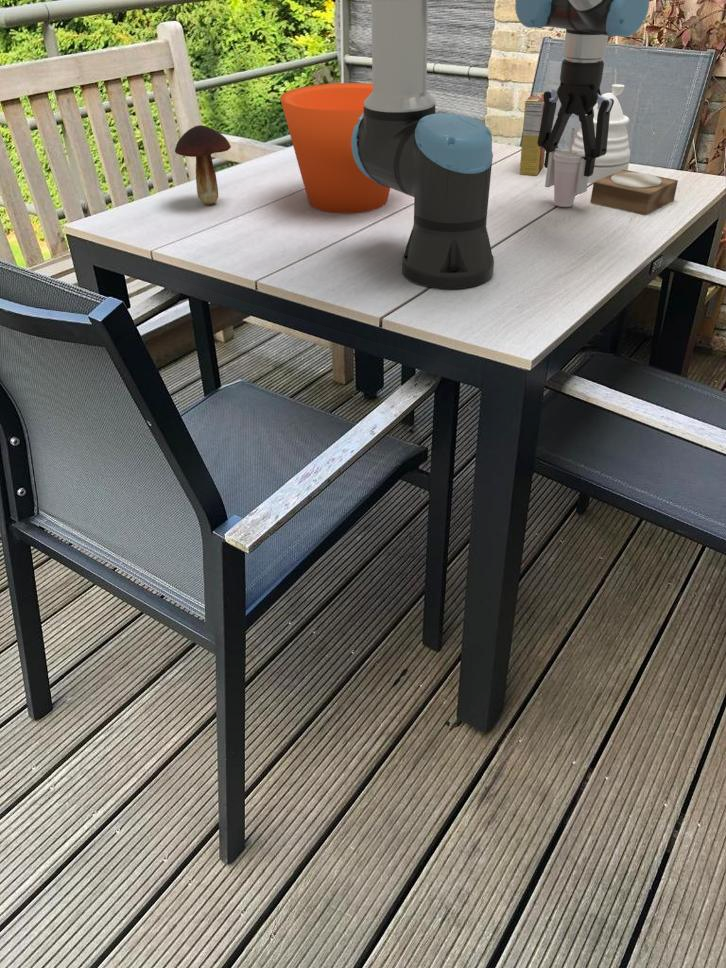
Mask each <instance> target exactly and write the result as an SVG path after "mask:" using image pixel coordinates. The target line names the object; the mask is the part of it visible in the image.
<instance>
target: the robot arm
mask: <svg viewBox="0 0 726 968" xmlns="http://www.w3.org/2000/svg"><path fill="white" fill-rule="evenodd" d="M370 5H371V7H370V9H371V13H370V14H371V15H370V16H371V62H372V63H371V67H372V68H371V69H372V70H371V74H372V84H373V90H372V93H371V94H370V95H369V96H368V97H367V98H366V100H365V101H364V113H363V114H362V115H361V116H360V118H359V119H358V121H359V122H358V124H357V125H355V126H354V129H353V133H352V140H351V146H352V153H353V157H354V160H355V162H356V164H357V166H358V168H359V169H360V171H361V172H362V173H363V174H364V175H365V176H367V177H368V178H370V179H372V180H373V181H375V182H376V183H377V184H379V185H381V186H384V187H389V188H390V189H392V190H394V191H397V192H400V193H402V194H405V195H407V196H410V197H413V198H414V199H413V200H414V201H413V203H414V204H413V225H412V229H411V232H410V233H409V234H410V235H409V238H408V240H407V243H406V246H405V249H404V252H403V255H402V259H401V260H402V261H401V272H402V275H403V276H404V277H405V278H406V279H407V280H408V281H410V282H412V283H414V284H417V285H419V286H424V287H427V288H433V289H434V288H435V289H443V290H444V289H447V290H451V289H454V290H455V289H456V290H458V289H465V288H472V287H475V286H479V285H481V284H485V283H486V282H488V281H489V280H490V279H492V277H493V275H494V268H495V267H494V265H495V258H494V255H493V253H492V246H491V242H490V238H489V233H488V228H487V217H488V210H489V209H488V208H489V207H488V206H489V199H490V198H489V196H490V187H491V176H492V166H493V165H492V164H493V157H494V154H493V135H492V132H491V130H490V128H489V127H488V125H486V124H485V123H483V122H482V121H480V120H478V119H476V118H473V117H471V116H468V115H467V116H466V115H464V114H461V115H457V114H455V113H446V112H442V113H441V112H439V113H436V104H437V103H436V102H437V101H436V99H435V98H434V97H433V96H432V94H431V93H430V92H429V91H428V89H427V84H428V83H427V80H428V79H427V78H428V75H427V74H428V72H427V71H428V30H429V29H428V26H429V25H428V21H429V19H428V18H429V0H370ZM514 6H515V9H514V10H515V13H516V17H517V19H518V21H519V22H520V23H521V25H522V26H524V27H526V28H529V29H530V28H532V29H533V28H534V29H543V28H545V27H547V28H548V27H549V28H556V29H562V30H563V29H564V30H565V36H564V42H563V51H562V56H563V57H564V58H563V61H561V66H560V74H559V75H560V76H559V81H560V83H559V86H558V87H557V90H556V89H555V90H554V89H550V90H547V91H544V92H543V93H544V110H543V116H542V121H541V126H540V132H539V137H538V146H542V147H543V148H544V149H545V159H544V166H543V167H544V168H545V169H546V176H545V181H544V182H545V184H544V187H546V188H550V187H554V163H555V160H554V159H553V156H554V152H555V151H557V150H558V149H559V146H558V145H559V143H560V141H561V139H562V136H563V133H564V131H565V129H566V127H567V124H568V122H569V120H570V117H571V116H572V115H575V116H578V120H579V122H580V128H582V136H583V144H584V151H585V157H583V158H582V159H581V162H580V169H579V175H578V182H577V189H576V195H581V194H583V193H586V192H587V191H588V184H589V183H588V178H589V176H591V175H592V174H593V171H594V164H595V159H596V158H598V157H600V156H603V155H605V154H606V151H607V140H608V129H609V118H610V111H611V109H612V106H613V104H614V100H613V99H607V98H605V97H603V96H602V92H601V85H602V81H603V73H604V67H605V62H604V60H603V59H604V58H605V57H606V52H607V47H608V46H607V45H608V39H609V38H613V37H621V38H622V37H631V36H632V35H634V34H636V33H637V32H638V31H639V30H640V28H641V27H642V25H643V24H644V21H645V20H646V18H647V15H648V12H649V8H650V0H515V5H514ZM558 100H559V102H560V107H559V110H558V113H557V118H556V120H555V121H554V119H555V115H556V109H557V102H558ZM596 103H598V107H597V109H598V110H599V111H598V115H597V126H596V138H595V130H594V122H593V118H594V110H593V107H594V106H595V105H596ZM586 114H587V115H586Z"/></svg>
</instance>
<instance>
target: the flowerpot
mask: <svg viewBox="0 0 726 968" xmlns="http://www.w3.org/2000/svg"><path fill="white" fill-rule="evenodd" d="M372 90H373V83H366V82H365V83H364V82H363V83H361V82H359V83H358V82H346V83H345V82H341V83H339V82H338V83H337V82H336V83H335V82H334V83H324V84H323V83H322V84H314V85H307V86H301V87H298V88H294V89H290V90H287V91H285V92H283V93H282V94H280V97H279V99H280V102H281V105H282V109H283V114H284V116H285V117H284V118H285V121H286V125H287V127H288V132H289V135H290V139H291V142H292V147H293V150H294V153H295V157H296V160H297V165H298V169H299V173H300V175H301V179H302V182H303V187H304V191H305V194H306V198H307V201H308V204H309V205H310V206H311V208H314V209H315V210H319V211H323V212H327V213H333V214H359V213H366V212H370V211H375V210H377V209H380V208H382V207H384V206H385V205H387V202H388V199H389V195H390V190H391V188H389V187H384V186H381V185H379V184H377V183H376V182H375V181H373V180H372V179H370V178H368V177H367V176H365V175H364V174H363V173H362V172H361V171H360V169H359V168H358V166H357V164H356V162H355V160H354V157H353V153H352V146H351V140H352V133H353V129H354V126H355V125H357V124H358V122H359V121H358V119H359V118H360V116H361V115H362V114H363V113H364V101H365V100H366V98H367V97H368V96H369V95H370V94H371V93H372ZM383 205H384V206H383ZM374 209H375V210H374Z"/></svg>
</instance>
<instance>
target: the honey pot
mask: <svg viewBox="0 0 726 968" xmlns="http://www.w3.org/2000/svg"><path fill="white" fill-rule="evenodd" d="M624 90H625V85H624V84H622V83H621V84H620V83H618V84H617V83H616V84H615V83H613V84H611V92H606V93H603V94H601V96H603V97H605V98H607V99H613V100H614V104H613V106H612V109H611V111H610V118H609V129H608V140H607V151H606V154H605V155H603V156H600V157H598V158H596V159H595V164H594V171H593V174H592V175H591V176H589V178H588V184H593V183H594V182H595V181H597V180H600V179H602V178H604V177H607V176H609V175H611V174H614V173H616V172H618V171H621V170H623V169H624V170H629V165H630V158H631V157H630V156H631V150H630V148H629V147H630V146H629V145H630V142H629V140H628V139H629V134H628V131H627V126H626V125H628V124H629V123H630V122H631V121H630V118H629V117H628V116H627V115H625V114H624V112H623V109H622V107H621V104H620V101H619V99H618V98H617V96H620V95H621V94H622V93H623V92H624ZM597 107H598V103H596V105H595V106H594V107H593V110H594V118H593V122H594V130H595V138H596V126H597V115H598V111H599V110H598V109H597ZM586 115H587V114H586ZM572 150H579V151H583V152H585V151H584V144H583V136H582V128H581V127H580V128H579V130H578V131H577V132H576V137H575V138H574V139H573V146H572Z"/></svg>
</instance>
